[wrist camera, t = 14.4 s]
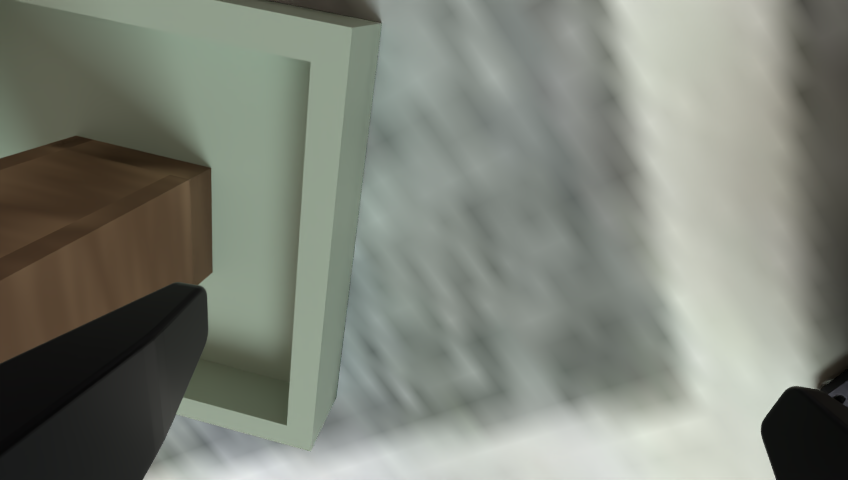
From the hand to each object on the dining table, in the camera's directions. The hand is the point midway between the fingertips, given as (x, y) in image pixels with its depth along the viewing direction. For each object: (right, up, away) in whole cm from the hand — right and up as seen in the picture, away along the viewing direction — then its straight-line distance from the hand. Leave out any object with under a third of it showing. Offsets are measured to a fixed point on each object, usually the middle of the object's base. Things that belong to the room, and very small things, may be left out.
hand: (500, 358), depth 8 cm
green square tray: (-13, +4, +15) cm, 20 cm away
